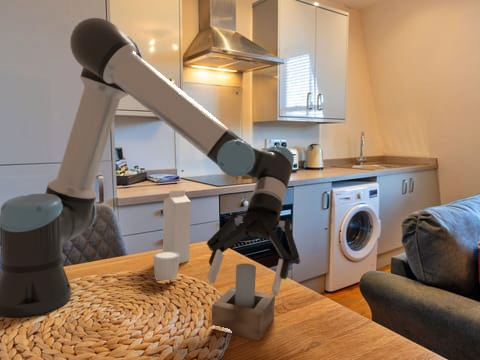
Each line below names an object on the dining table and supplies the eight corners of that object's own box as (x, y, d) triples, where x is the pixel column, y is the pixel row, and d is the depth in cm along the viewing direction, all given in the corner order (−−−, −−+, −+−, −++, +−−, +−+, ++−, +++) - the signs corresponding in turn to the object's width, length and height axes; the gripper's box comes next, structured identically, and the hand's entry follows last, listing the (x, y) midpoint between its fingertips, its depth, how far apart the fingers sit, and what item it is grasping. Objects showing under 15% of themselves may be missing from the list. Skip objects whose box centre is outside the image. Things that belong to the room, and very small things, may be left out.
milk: (162, 260, 111) (163, 190, 109) (178, 256, 116) (179, 188, 114) (174, 265, 107) (175, 192, 105) (190, 261, 112) (191, 191, 110)
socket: (211, 329, 71) (212, 305, 70) (230, 308, 80) (231, 287, 80) (259, 340, 67) (260, 315, 67) (273, 317, 77) (274, 295, 76)
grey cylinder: (230, 325, 73) (233, 268, 72) (238, 317, 76) (240, 262, 75) (249, 329, 71) (252, 271, 70) (255, 321, 75) (258, 265, 74)
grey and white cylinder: (173, 286, 91) (173, 259, 91) (148, 283, 93) (148, 257, 92) (182, 277, 98) (183, 252, 97) (159, 274, 99) (159, 249, 99)
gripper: (322, 216, 82) (306, 306, 69) (222, 206, 91) (191, 283, 78) (320, 196, 76) (302, 289, 64) (213, 187, 85) (179, 267, 73)
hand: (241, 286), depth 71 cm, fingers open, 13 cm apart
